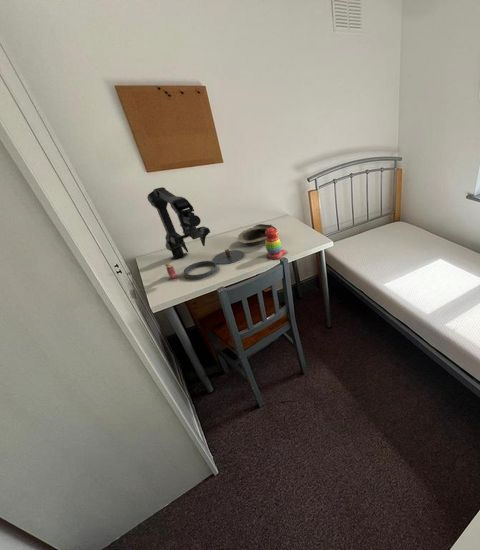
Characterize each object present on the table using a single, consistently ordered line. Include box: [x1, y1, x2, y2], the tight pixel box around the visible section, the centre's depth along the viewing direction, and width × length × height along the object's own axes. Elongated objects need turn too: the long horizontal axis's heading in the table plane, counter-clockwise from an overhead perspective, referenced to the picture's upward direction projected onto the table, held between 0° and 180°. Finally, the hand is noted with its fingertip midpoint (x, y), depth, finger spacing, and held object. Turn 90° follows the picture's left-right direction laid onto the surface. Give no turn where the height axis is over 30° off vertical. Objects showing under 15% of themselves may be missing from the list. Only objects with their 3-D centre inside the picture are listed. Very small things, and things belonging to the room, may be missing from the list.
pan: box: [183, 260, 219, 281], centre depth 163 cm, size 17×17×3 cm
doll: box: [164, 261, 179, 281], centre depth 156 cm, size 4×4×10 cm
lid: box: [212, 248, 245, 265], centre depth 177 cm, size 18×18×6 cm
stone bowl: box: [237, 223, 278, 247], centre depth 195 cm, size 25×25×9 cm
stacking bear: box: [264, 227, 287, 260], centre depth 176 cm, size 11×10×18 cm
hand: (195, 249), depth 162 cm, fingers open, 9 cm apart
